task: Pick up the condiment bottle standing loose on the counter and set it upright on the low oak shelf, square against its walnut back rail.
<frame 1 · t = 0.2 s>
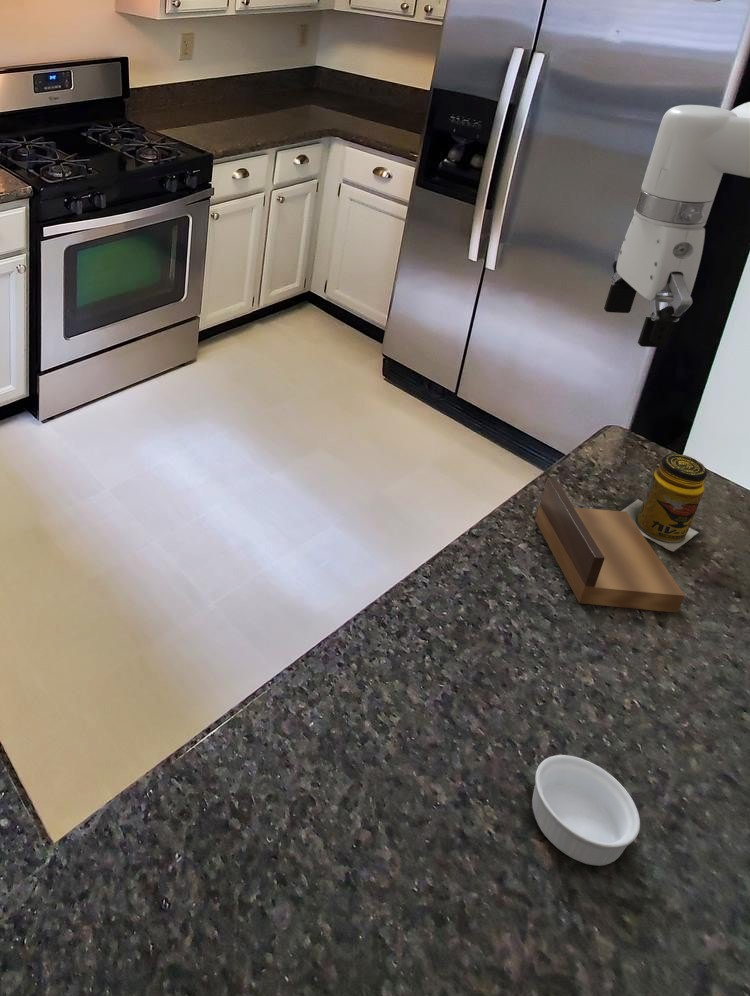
hand: (633, 328, 106), 32 cm above the countertop, tool pointing down, fingers open, 9 cm apart
ramekin: (575, 826, 79), on the countertop
shelf: (601, 563, 111), on the countertop
condiment: (653, 526, 118), on the countertop
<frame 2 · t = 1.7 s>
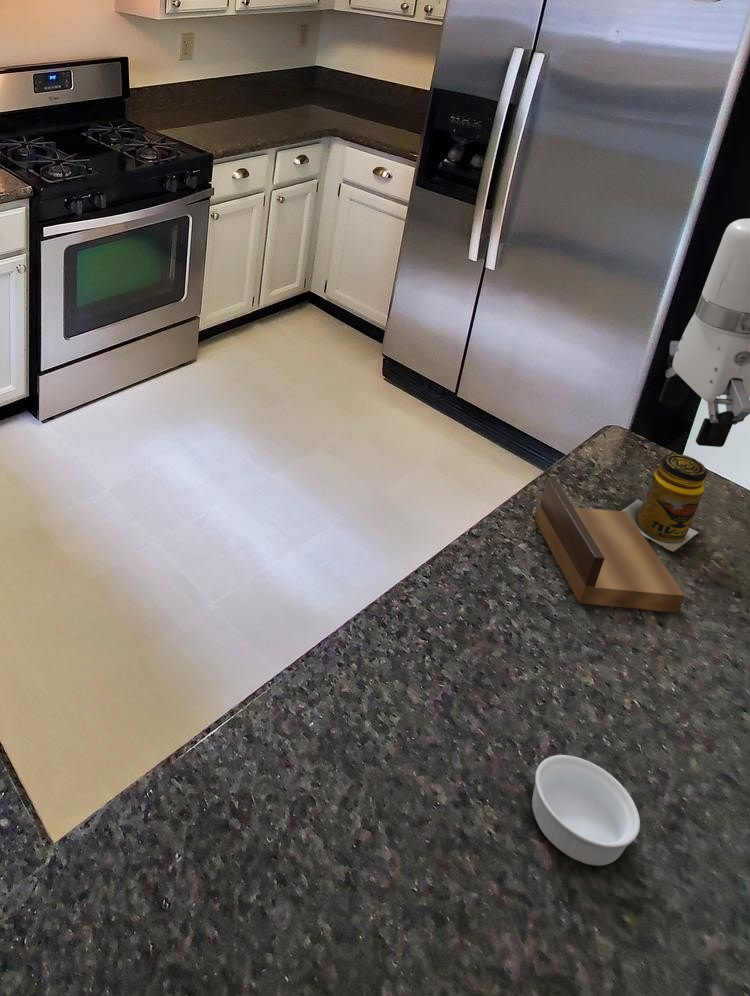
hand: (688, 423, 110), 18 cm above the countertop, tool pointing down, fingers open, 9 cm apart
nothing on the countertop moved.
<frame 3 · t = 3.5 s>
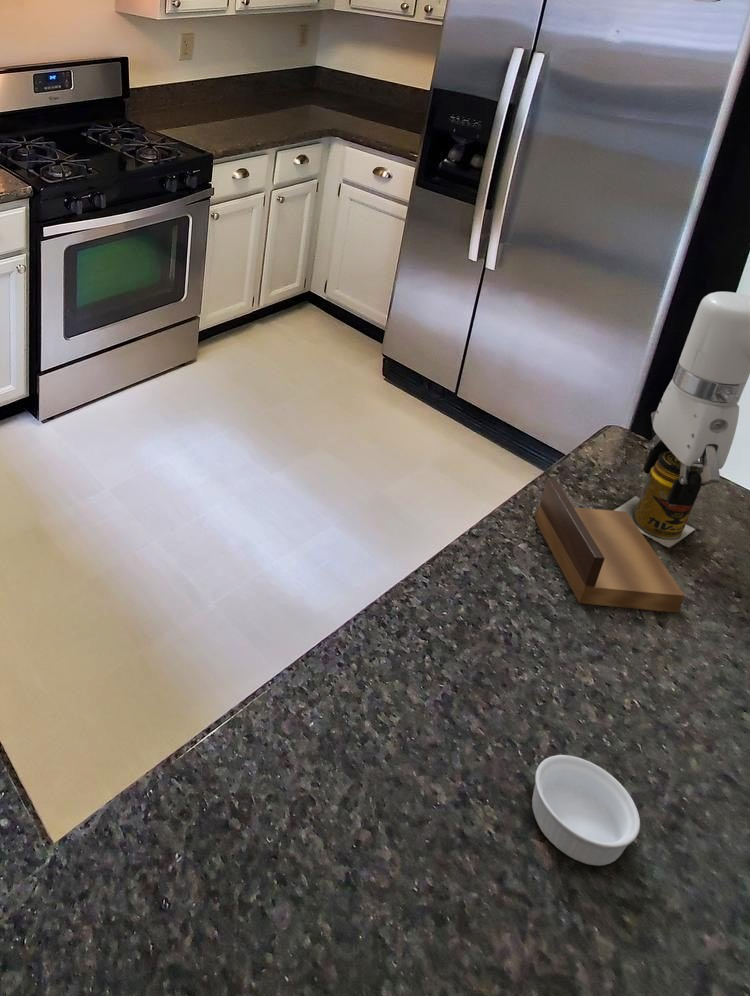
hand: (667, 487, 114), 7 cm above the countertop, tool pointing down, fingers closed on condiment, 6 cm apart
condiment: (650, 523, 118), on the countertop, touching gripper
everything else where it was.
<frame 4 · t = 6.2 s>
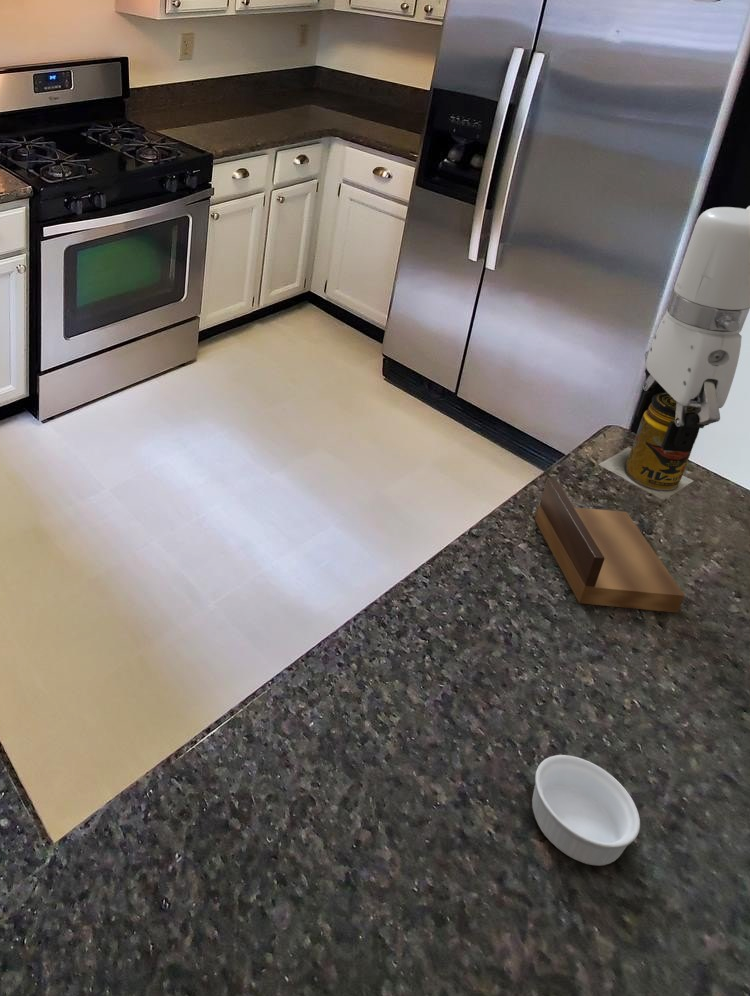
hand: (662, 432, 103), 21 cm above the countertop, tool pointing down, fingers closed on condiment, 6 cm apart
condiment: (644, 474, 107), point 14 cm above the countertop, touching gripper
everything else where it was.
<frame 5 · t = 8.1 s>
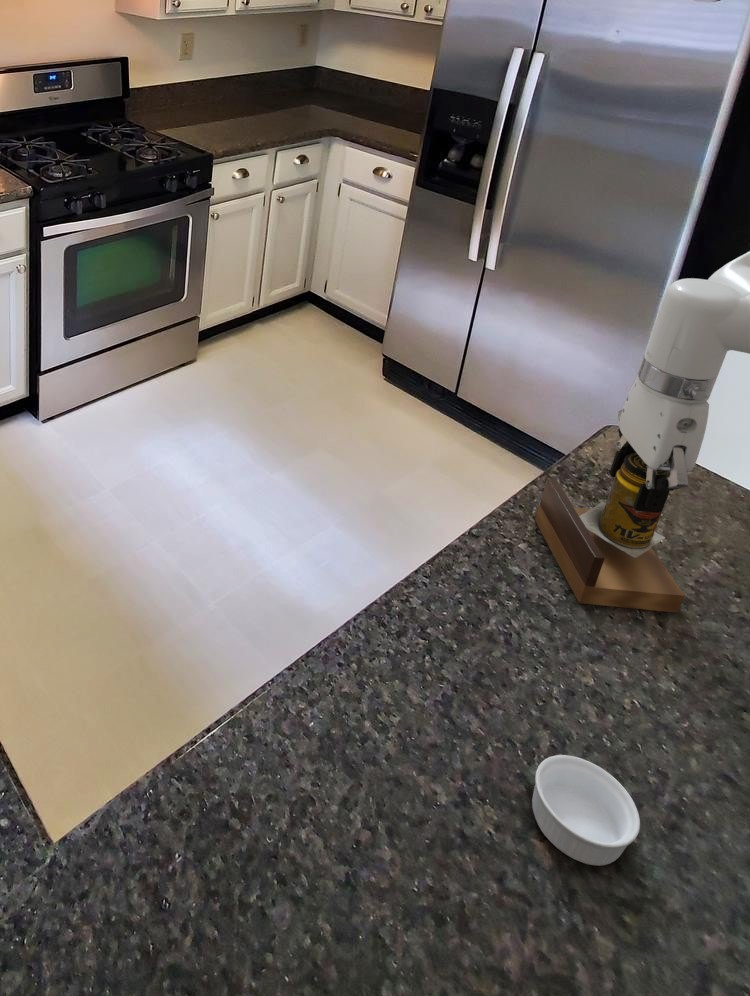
hand: (634, 492, 105), 13 cm above the countertop, tool pointing down, fingers closed on condiment, 6 cm apart
condiment: (617, 531, 109), point 5 cm above the countertop, touching gripper
everything else where it was.
when the fingers open (10 cm above the countertop, at t = 9.2 s): condiment stays where it is, resting on shelf.
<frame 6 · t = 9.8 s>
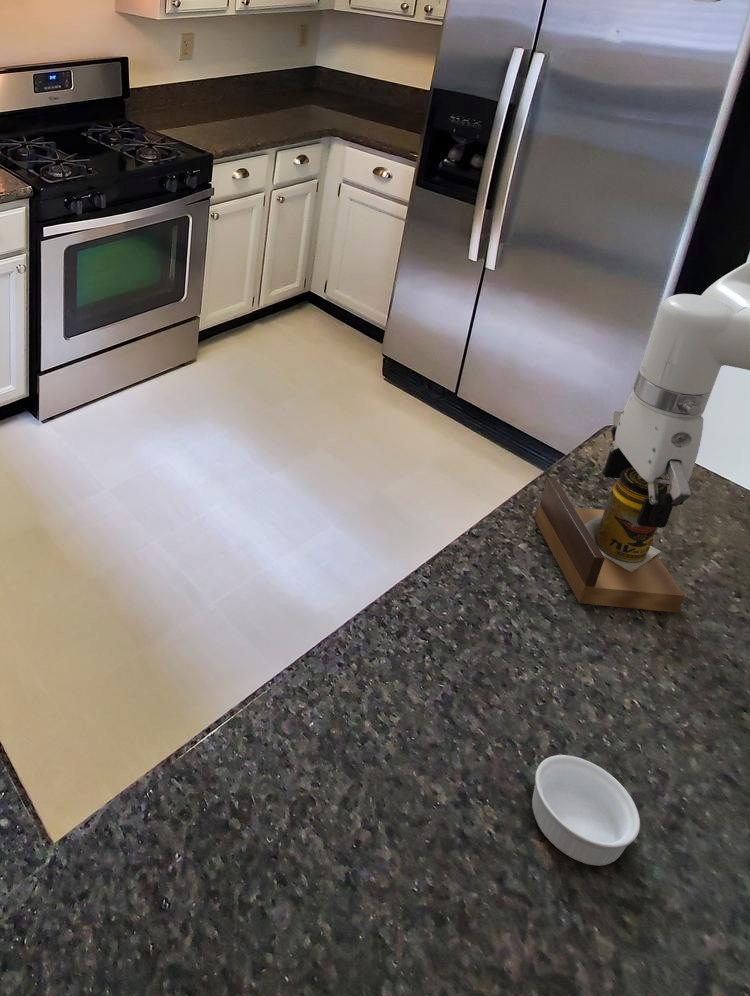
hand: (632, 500, 106), 11 cm above the countertop, tool pointing down, fingers open, 9 cm apart
condiment: (613, 544, 110), point 3 cm above the countertop, touching shelf
everything else where it was.
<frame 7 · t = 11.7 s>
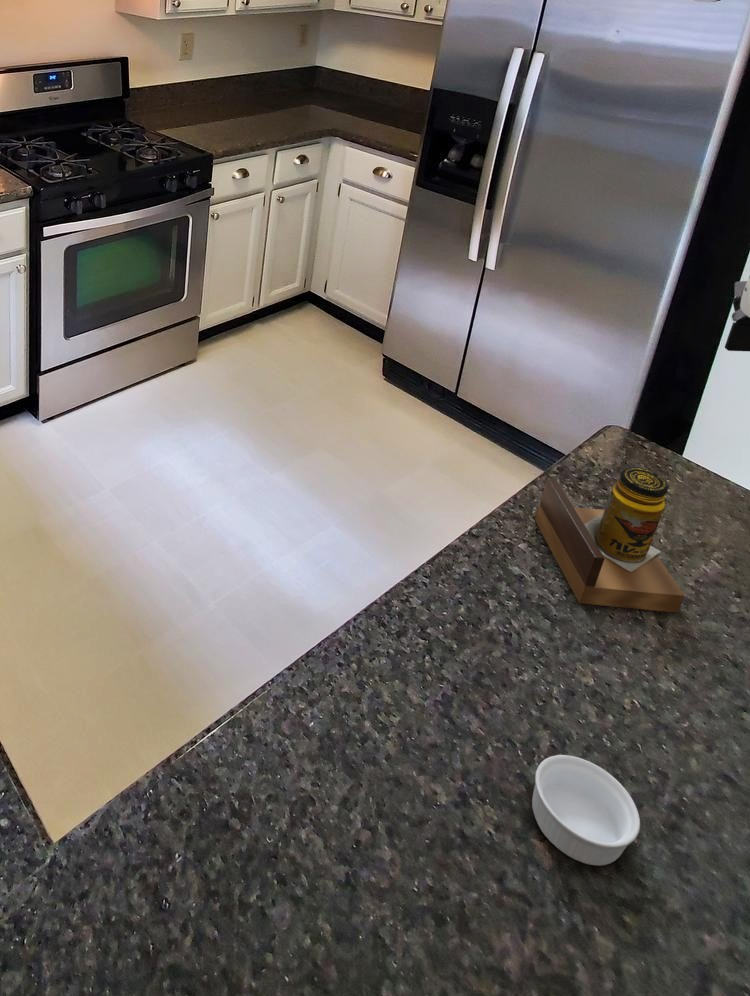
nothing on the countertop moved.
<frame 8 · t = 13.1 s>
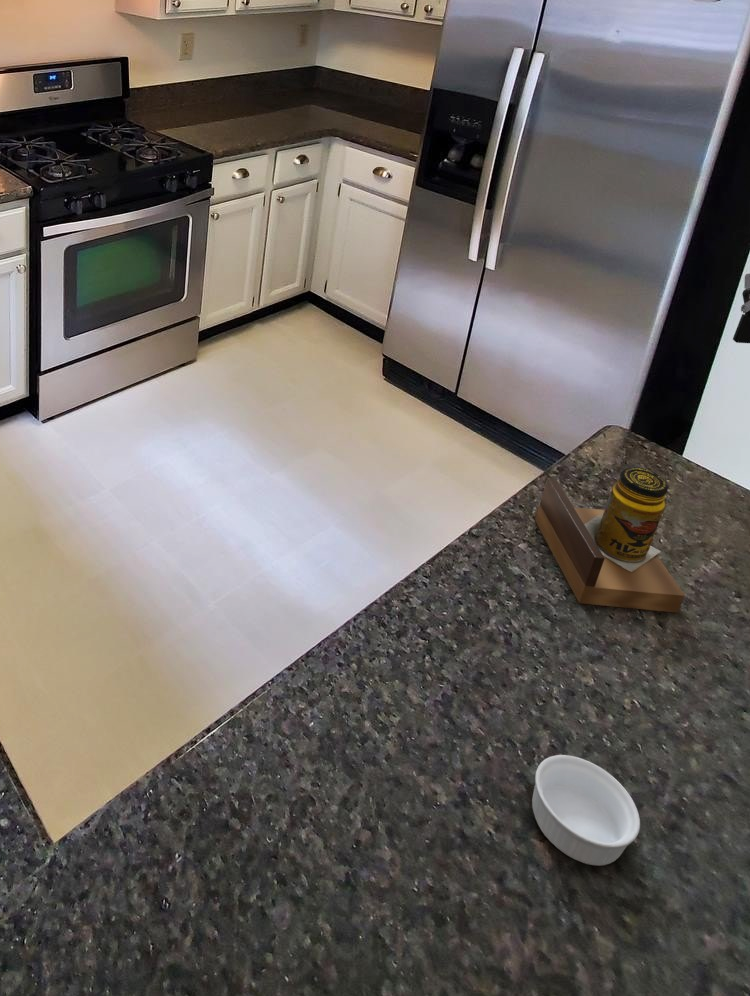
nothing on the countertop moved.
at the end: condiment inside the target area on the shelf (1.1 cm from its centre), point 2.8 cm above the shelf's base; condiment tilted 0°; the gripper is holding nothing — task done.
